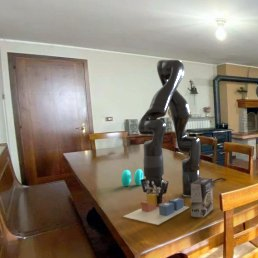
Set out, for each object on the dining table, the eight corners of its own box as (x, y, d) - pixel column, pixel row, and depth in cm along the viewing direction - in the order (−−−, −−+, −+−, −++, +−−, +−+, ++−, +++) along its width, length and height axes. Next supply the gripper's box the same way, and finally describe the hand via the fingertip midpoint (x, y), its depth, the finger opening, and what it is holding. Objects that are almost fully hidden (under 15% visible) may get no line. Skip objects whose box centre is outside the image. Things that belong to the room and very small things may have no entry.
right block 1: (166, 210, 117) (166, 201, 117) (174, 212, 116) (173, 203, 115) (159, 214, 113) (158, 205, 113) (166, 216, 112) (166, 206, 111)
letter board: (157, 201, 129) (157, 200, 128) (189, 208, 122) (189, 207, 122) (122, 217, 111) (122, 216, 111) (158, 226, 104) (158, 224, 104)
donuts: (140, 187, 150) (139, 171, 149) (121, 188, 147) (120, 172, 146) (144, 182, 159) (143, 167, 158) (126, 183, 156) (125, 168, 155)
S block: (155, 200, 111) (155, 190, 110) (163, 201, 109) (162, 192, 109) (147, 204, 106) (146, 194, 106) (154, 205, 105) (154, 195, 105)
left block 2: (159, 202, 126) (159, 194, 126) (166, 203, 125) (165, 195, 124) (152, 205, 122) (151, 197, 122) (159, 207, 121) (158, 198, 120)
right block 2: (176, 205, 123) (176, 197, 122) (183, 207, 121) (183, 198, 121) (169, 209, 119) (169, 200, 118) (176, 210, 117) (176, 201, 117)
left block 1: (149, 207, 121) (149, 198, 120) (156, 208, 119) (155, 199, 119) (141, 210, 117) (141, 201, 116) (148, 212, 115) (148, 203, 115)
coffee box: (203, 218, 111) (203, 184, 109) (190, 217, 112) (190, 183, 110) (213, 210, 120) (212, 178, 118) (201, 209, 121) (200, 177, 119)
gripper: (173, 164, 107) (174, 201, 109) (148, 161, 112) (150, 197, 114) (159, 168, 100) (160, 208, 102) (133, 165, 105) (135, 203, 107)
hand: (155, 202), depth 108 cm, fingers closed on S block, 4 cm apart
